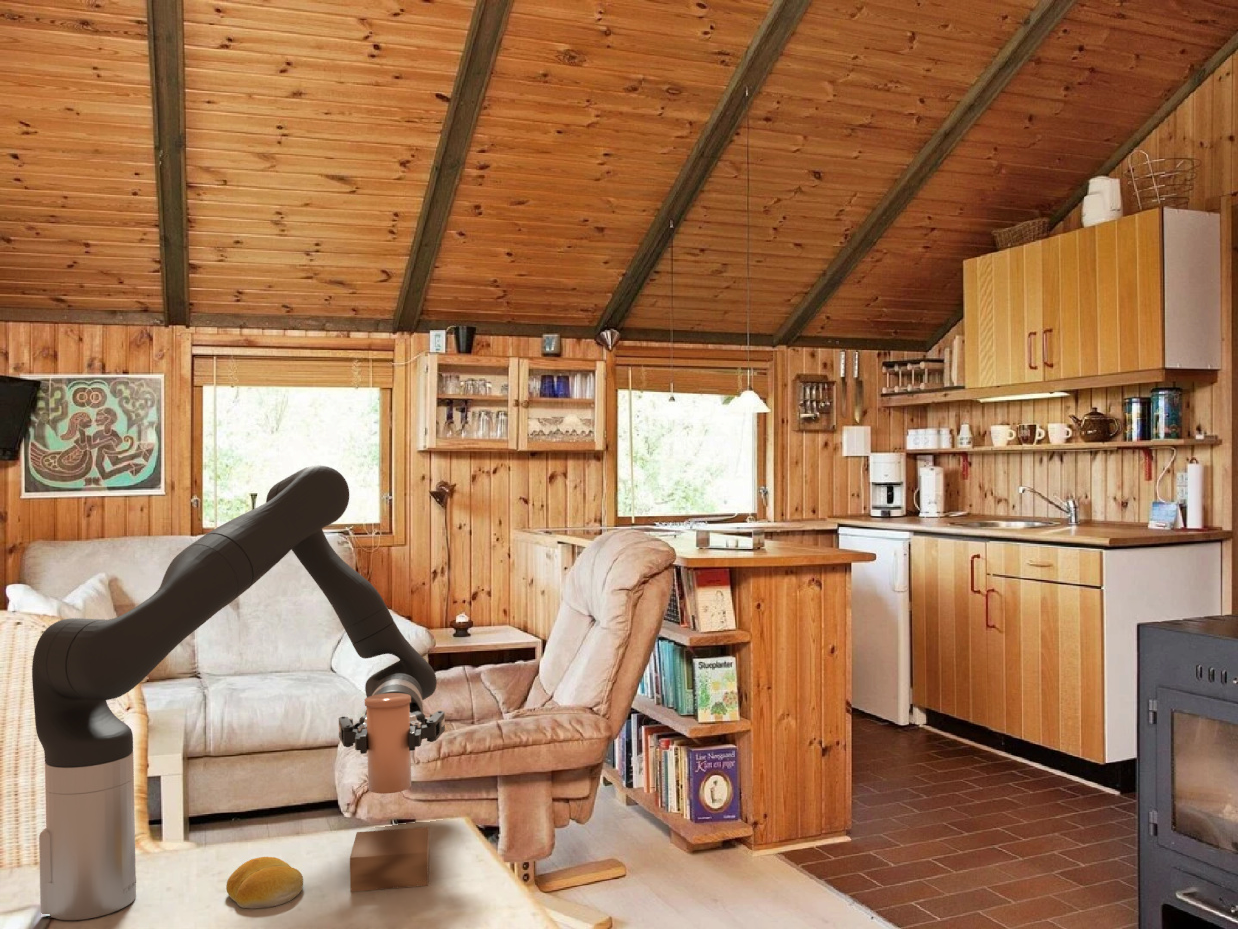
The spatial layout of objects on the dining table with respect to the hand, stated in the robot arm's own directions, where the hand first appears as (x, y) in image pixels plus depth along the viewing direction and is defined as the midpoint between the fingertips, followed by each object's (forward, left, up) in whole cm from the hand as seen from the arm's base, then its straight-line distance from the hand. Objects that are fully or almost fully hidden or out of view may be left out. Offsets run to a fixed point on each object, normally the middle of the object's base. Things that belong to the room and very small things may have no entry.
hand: (387, 744), depth 127 cm
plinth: (0, +2, -17) cm, 17 cm away
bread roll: (-15, 0, -17) cm, 23 cm away
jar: (0, +3, -6) cm, 7 cm away
